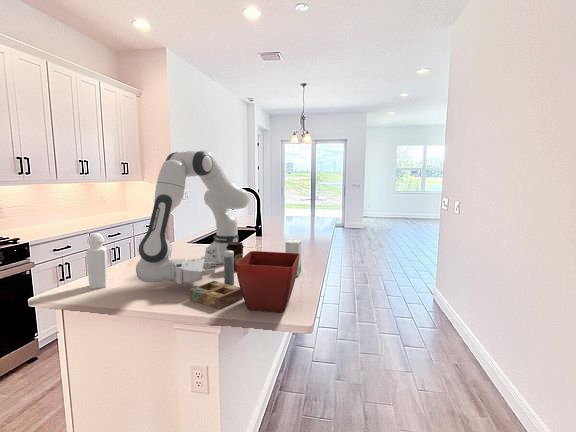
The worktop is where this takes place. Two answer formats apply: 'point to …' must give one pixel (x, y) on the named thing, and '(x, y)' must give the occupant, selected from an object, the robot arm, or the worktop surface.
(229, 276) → the grey cylinder
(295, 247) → the skincare box
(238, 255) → the coffee cup
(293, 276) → the plant pot
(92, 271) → the white bottle
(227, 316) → the worktop surface
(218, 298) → the socket deck
